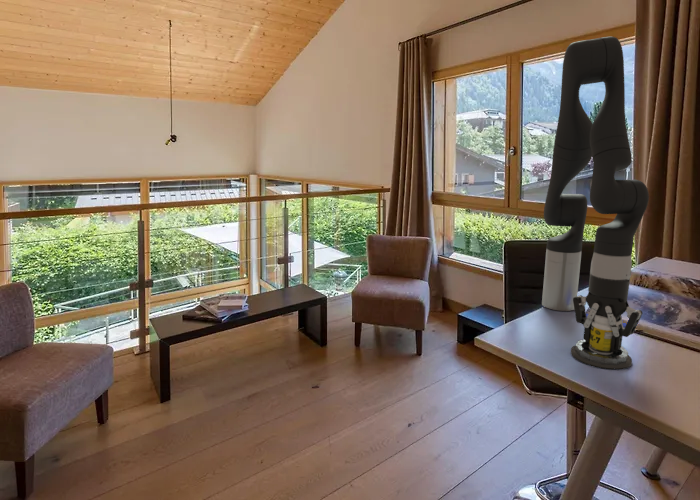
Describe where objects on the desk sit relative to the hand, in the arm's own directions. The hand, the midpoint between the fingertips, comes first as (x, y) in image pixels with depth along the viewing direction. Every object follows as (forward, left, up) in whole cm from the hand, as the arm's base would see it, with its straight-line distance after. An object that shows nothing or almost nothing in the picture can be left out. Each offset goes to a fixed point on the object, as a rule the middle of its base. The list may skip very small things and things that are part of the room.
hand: (601, 346), depth 100 cm
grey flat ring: (0, 0, -3) cm, 3 cm away
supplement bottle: (0, 0, -1) cm, 1 cm away
